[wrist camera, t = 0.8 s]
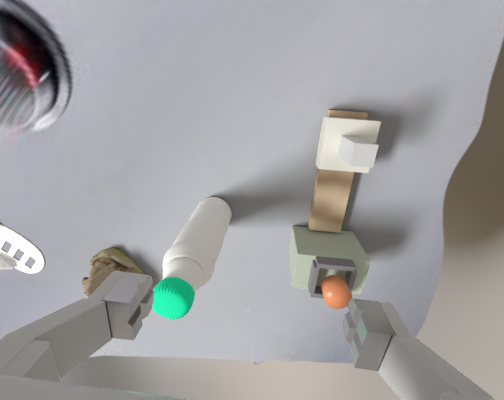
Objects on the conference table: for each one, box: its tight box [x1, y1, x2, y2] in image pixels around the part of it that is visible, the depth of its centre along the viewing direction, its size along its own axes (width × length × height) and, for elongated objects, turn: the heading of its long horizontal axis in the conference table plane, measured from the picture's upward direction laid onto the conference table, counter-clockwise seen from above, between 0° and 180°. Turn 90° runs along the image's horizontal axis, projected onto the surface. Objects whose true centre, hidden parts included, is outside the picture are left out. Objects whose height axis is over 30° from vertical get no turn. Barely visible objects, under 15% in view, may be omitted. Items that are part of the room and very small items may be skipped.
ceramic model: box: [82, 248, 145, 297], centre depth 54 cm, size 14×11×10 cm
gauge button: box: [321, 275, 352, 309], centre depth 39 cm, size 4×4×3 cm
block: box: [308, 110, 368, 233], centre depth 45 cm, size 22×6×2 cm, turn 176°
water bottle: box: [152, 197, 232, 319], centre depth 39 cm, size 7×7×25 cm
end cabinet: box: [288, 226, 371, 298], centre depth 46 cm, size 7×12×12 cm, turn 86°
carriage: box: [315, 116, 381, 173], centre depth 37 cm, size 8×8×10 cm
